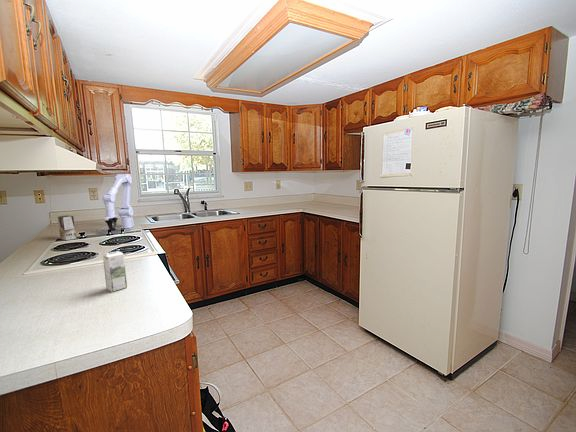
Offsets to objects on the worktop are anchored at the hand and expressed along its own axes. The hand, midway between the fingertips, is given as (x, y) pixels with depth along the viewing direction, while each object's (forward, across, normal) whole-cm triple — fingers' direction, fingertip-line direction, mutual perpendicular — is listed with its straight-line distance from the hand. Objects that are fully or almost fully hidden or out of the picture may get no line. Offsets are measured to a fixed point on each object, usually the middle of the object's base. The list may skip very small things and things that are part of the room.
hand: (112, 228), depth 221 cm
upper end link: (+3, 0, -2) cm, 4 cm away
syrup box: (+3, +114, +56) cm, 127 cm away
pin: (+2, 0, 0) cm, 2 cm away
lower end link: (+3, 0, +3) cm, 4 cm away
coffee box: (+3, +18, -21) cm, 28 cm away
